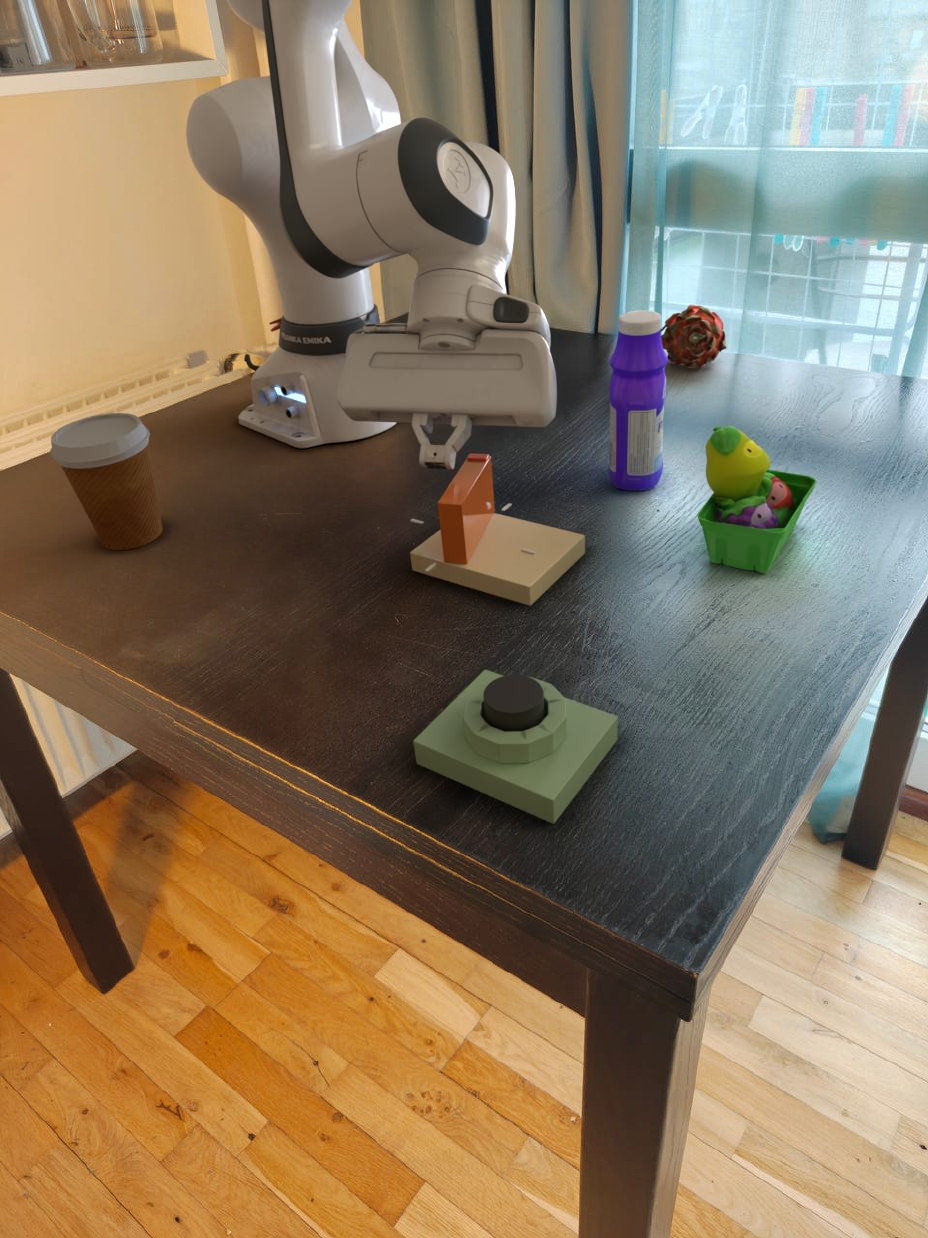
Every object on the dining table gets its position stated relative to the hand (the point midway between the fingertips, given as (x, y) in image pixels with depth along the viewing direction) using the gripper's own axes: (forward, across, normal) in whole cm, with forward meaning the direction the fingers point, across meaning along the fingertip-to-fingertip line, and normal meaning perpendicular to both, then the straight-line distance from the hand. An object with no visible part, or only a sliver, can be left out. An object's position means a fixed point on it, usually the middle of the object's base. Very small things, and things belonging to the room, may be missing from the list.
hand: (436, 466), depth 79 cm
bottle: (-6, +16, +19) cm, 26 cm away
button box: (+24, +12, -12) cm, 30 cm away
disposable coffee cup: (+7, -35, +7) cm, 36 cm away
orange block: (+5, +3, +5) cm, 8 cm away
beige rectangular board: (+7, +4, +6) cm, 10 cm away
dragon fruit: (-32, +20, +45) cm, 59 cm away
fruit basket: (+3, +28, +10) cm, 30 cm away
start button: (+22, +12, -14) cm, 29 cm away
